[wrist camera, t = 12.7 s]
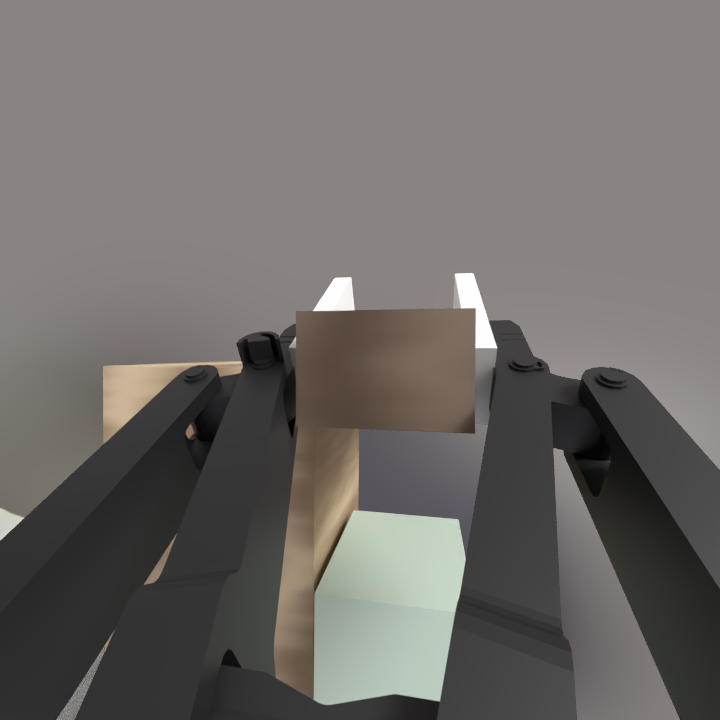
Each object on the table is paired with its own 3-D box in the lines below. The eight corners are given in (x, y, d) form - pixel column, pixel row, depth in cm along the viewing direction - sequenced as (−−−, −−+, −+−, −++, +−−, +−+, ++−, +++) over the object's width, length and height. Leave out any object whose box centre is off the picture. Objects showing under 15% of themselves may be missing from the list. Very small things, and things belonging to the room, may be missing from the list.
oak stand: (105, 901, 21) (103, 366, 20) (222, 702, 33) (222, 361, 32) (311, 966, 19) (315, 369, 18) (356, 728, 30) (359, 363, 30)
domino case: (296, 426, 10) (295, 305, 10) (386, 377, 31) (386, 339, 31) (474, 433, 9) (475, 301, 9) (441, 377, 31) (441, 339, 30)
